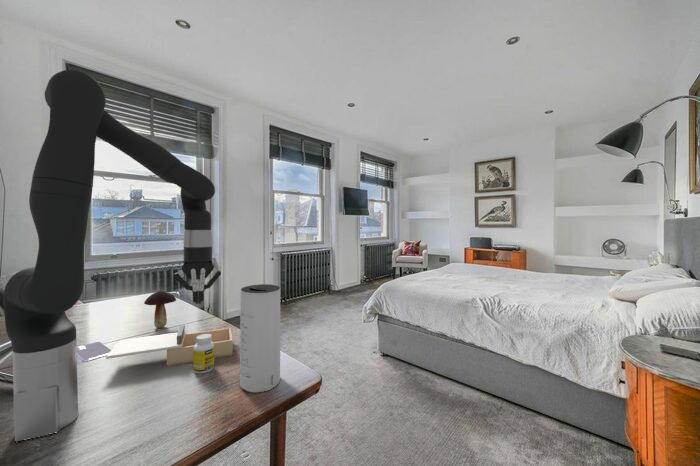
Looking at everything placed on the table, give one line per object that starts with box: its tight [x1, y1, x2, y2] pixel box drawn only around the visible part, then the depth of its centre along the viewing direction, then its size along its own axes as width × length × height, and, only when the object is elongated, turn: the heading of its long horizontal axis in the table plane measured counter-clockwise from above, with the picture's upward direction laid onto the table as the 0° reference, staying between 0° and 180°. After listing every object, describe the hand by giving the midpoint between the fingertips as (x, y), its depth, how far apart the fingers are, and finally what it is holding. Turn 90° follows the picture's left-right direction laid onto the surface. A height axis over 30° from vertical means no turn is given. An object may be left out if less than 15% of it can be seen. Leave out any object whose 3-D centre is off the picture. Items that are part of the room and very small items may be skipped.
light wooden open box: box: [166, 327, 234, 368], centre depth 94 cm, size 12×18×5 cm, turn 115°
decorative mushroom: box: [143, 290, 177, 329], centre depth 116 cm, size 11×11×15 cm
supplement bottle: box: [192, 334, 215, 374], centre depth 84 cm, size 5×5×10 cm
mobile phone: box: [77, 341, 112, 363], centre depth 95 cm, size 8×1×15 cm
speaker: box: [239, 283, 281, 394], centre depth 77 cm, size 11×10×26 cm
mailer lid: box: [105, 324, 187, 360], centre depth 88 cm, size 12×18×3 cm, turn 115°
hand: (198, 303), depth 86 cm, fingers closed
